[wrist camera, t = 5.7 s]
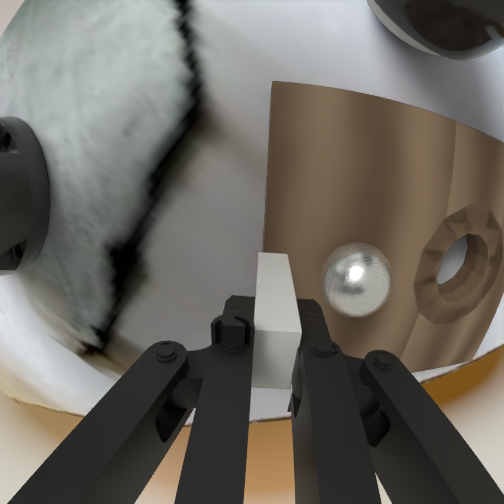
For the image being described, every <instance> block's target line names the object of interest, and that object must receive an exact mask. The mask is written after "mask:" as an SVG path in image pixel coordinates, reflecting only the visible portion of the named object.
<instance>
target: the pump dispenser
mask: <svg viewBox="0 0 504 504" xmlns="http://www.w3.org/2000/svg"><path fill="white" fill-rule="evenodd" d="M367 2H368V4H369V6H370V8H371V9H372V11H373V12H374V14H375V15H376V16H377V18H378V19H379V20H380V21H381V22H382V23H383V24H384V25H385V26H386V27H387V28H388V29H389V30H390V31H391V32H392V33H393V34H395V35H396V36H397V37H398V38H400V39H401V40H403V41H404V42H406V43H407V44H409V45H411V46H413V47H415V48H417V49H419V50H421V51H423V52H426V53H429V54H432V55H436V56H441V57H446V58H449V59H453V60H458V61H467V60H472V59H476V58H479V57H482V56H484V55H486V54H488V53H490V52H492V51H494V50H496V49H498V48H500V47H502V46H504V0H367Z"/></svg>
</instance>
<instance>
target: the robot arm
mask: <svg viewBox="0 0 504 504" xmlns="http://www.w3.org/2000/svg"><path fill="white" fill-rule="evenodd" d="M48 219H49V187H48V178H47V172H46V166H45V162H44V158H43V154H42V151H41V148H40V146H39V143H38V141H37V139H36V137H35V135H34V133H33V132H32V130H31V129H30V128H29V126H28V125H27V124H26V123H25V122H23V121H22V120H20V119H19V118H16V117H0V276H3V275H8V274H12V273H15V272H17V271H18V270H20V269H21V268H23V267H24V266H26V265H27V264H29V263H30V262H32V261H33V260H34V259H35V258H36V256H37V255H38V254H39V252H40V250H41V248H42V246H43V243H44V240H45V236H46V232H47V227H48ZM211 336H212V345H211V346H209V347H207V348H204V349H201V350H195V351H187V350H186V349H185V347H184V346H183V345H181V344H179V343H177V342H174V341H161V342H158V343H155V344H153V345H152V346H150V347H149V348H148V349H147V350H146V351H145V352H144V353H143V354H142V355H141V357H140V358H139V359H138V360H137V361H136V362H135V363H134V364H133V365H132V366H131V367H130V368H129V369H128V371H127V372H126V373H125V374H124V375H123V376H122V377H121V378H120V379H119V380H118V381H117V382H116V383H115V385H114V386H113V387H112V388H111V389H110V390H109V391H108V392H107V393H106V394H105V395H104V396H103V398H102V399H101V400H100V401H99V402H98V403H97V404H96V405H95V406H94V407H93V408H92V410H91V411H90V412H89V413H88V414H87V415H86V416H85V417H84V418H83V419H82V421H81V422H80V423H79V424H78V425H77V426H76V427H75V429H73V430H72V432H71V433H70V434H69V435H68V436H67V437H66V438H65V439H64V440H63V441H62V443H61V444H60V445H59V446H58V447H57V448H56V449H55V450H54V451H53V453H52V454H51V455H50V456H49V457H48V458H47V459H46V460H45V461H44V463H43V464H42V465H41V466H40V467H39V468H38V469H37V471H36V472H35V473H34V474H33V475H32V476H31V477H30V478H29V479H28V481H27V482H26V483H25V484H24V485H23V486H22V487H21V489H20V490H19V491H18V492H17V493H16V494H15V495H14V497H13V498H12V499H11V500H10V501H9V502H8V503H7V504H134V503H135V502H136V500H137V498H138V497H139V495H140V494H141V492H142V491H143V489H144V488H145V486H146V485H147V483H148V482H149V480H150V479H151V477H152V475H153V474H154V472H155V471H156V469H157V468H158V466H159V464H160V463H161V461H162V460H163V458H164V457H165V455H166V453H167V452H168V450H169V449H170V447H171V445H172V443H173V442H174V440H175V439H176V437H177V435H178V434H179V432H180V431H181V429H182V427H183V426H184V424H185V422H186V421H187V419H188V418H189V416H190V414H191V413H192V411H193V408H196V411H195V415H194V419H193V423H192V428H191V432H190V436H189V440H188V445H187V449H186V453H185V458H184V462H183V466H182V471H181V476H180V480H179V485H178V489H177V493H176V498H175V503H174V504H243V501H244V487H245V473H246V459H247V444H248V428H249V414H250V398H251V387H257V388H280V389H290V386H291V382H292V389H293V390H292V395H291V399H290V403H289V406H288V411H287V412H290V411H291V417H292V434H293V453H294V473H295V474H294V476H295V502H296V503H295V504H381V498H380V494H379V489H378V484H377V479H376V475H375V473H376V474H377V476H378V478H379V480H380V482H381V484H382V485H383V487H384V489H385V491H386V493H387V495H388V497H389V498H390V500H391V502H392V504H504V495H503V493H502V492H501V490H500V489H499V487H498V486H497V484H496V483H495V481H494V480H493V479H492V477H491V476H490V474H489V473H488V472H487V470H486V469H485V468H484V466H483V465H482V463H481V462H480V460H479V459H478V458H477V456H476V455H475V454H474V452H473V451H472V449H471V448H470V447H469V445H468V444H467V443H466V441H465V440H464V439H463V437H462V436H461V435H460V433H459V432H458V431H457V430H456V429H455V427H454V426H453V424H452V423H451V422H450V421H449V419H448V418H447V417H446V415H445V414H444V413H443V412H442V411H441V409H440V408H439V407H438V405H437V404H436V403H435V402H434V400H433V399H432V398H431V397H430V396H429V394H428V393H427V392H426V391H425V389H424V388H423V387H422V386H421V385H420V383H419V382H418V381H417V380H416V379H415V377H414V376H413V375H412V374H411V373H410V371H409V370H408V369H407V368H406V367H405V365H404V364H403V363H402V362H401V361H400V360H399V358H398V357H396V356H395V355H394V354H393V353H390V352H388V351H385V350H373V351H370V352H368V353H367V355H366V356H365V358H364V359H362V358H357V357H352V356H348V355H345V354H343V353H342V350H341V349H340V347H339V345H337V344H336V343H335V342H333V341H331V337H330V334H329V331H328V327H327V324H326V321H325V318H324V315H323V311H322V308H321V306H320V305H319V304H318V303H317V302H316V301H315V300H314V299H296V296H295V291H294V285H293V280H292V275H291V270H290V265H289V259H288V254H278V253H263V252H259V253H258V268H257V283H256V297H248V296H235V295H232V296H231V297H230V298H229V299H228V300H227V301H226V303H225V307H224V311H223V315H221V316H218V317H217V318H215V319H214V320H213V322H212V323H211Z"/></svg>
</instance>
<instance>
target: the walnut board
mask: <svg viewBox="0 0 504 504" xmlns="http://www.w3.org/2000/svg"><path fill="white" fill-rule="evenodd" d="M464 235H466V236H467V244H468V250H467V253H466V257H465V261H464V264H463V265H462V267H461V268H460V270H459V271H458V272H457V274H456V275H455V276H454V277H453V278H451V279H450V280H448V281H447V282H445V283H443V284H437V275H438V272H439V268H440V265H441V261H442V258H443V257H444V255H445V254H446V253H447V251H448V250H449V248H450V247H451V245H452V244H453V242H454V241H456V240H458V239H459V238H461V237H463V236H464ZM353 242H361V243H366V244H369V245H371V246H374V247H375V248H377V249H378V250H380V251H381V252H382V253H383V254H384V256H385V257H386V258H387V260H388V262H389V264H390V266H391V270H392V275H393V283H392V289H391V292H390V295H389V297H388V299H387V300H386V302H385V303H384V304H383V306H382V307H381V308H379V309H378V310H377V311H375V312H374V313H372V314H370V315H368V316H364V317H357V318H356V317H347V316H344V315H341V314H339V313H338V312H336V311H335V310H333V309H332V308H331V307H330V306H329V305H328V303H327V302H326V300H325V299H324V297H323V294H322V291H321V287H320V274H321V270H322V267H323V264H324V262H325V261H326V259H327V258H328V256H329V255H330V254H331V253H332V252H333V251H334V250H336V249H337V248H339V247H340V246H342V245H345V244H348V243H353ZM262 252H263V253H278V254H288V259H289V265H290V270H291V275H292V280H293V285H294V291H295V296H296V299H314V300H315V301H316V302H317V303H318V304H319V305H320V306H321V308H322V311H323V315H324V318H325V321H326V324H327V327H328V331H329V334H330V337H331V341H333V342H335V343H336V344H337V345H339V347H340V349H341V350H342V353H343V354H345V355H348V356H352V357H357V358H362V359H364V358H365V356H366V355H367V353H368V352H370V351H373V350H385V351H388V352H390V353H393V354H394V355H395V356H396V357H398V358H399V360H400V361H401V362H402V363H403V364H404V365H405V367H406V368H407V369H408V370H409V371H410V373H411V372H418V371H424V370H429V369H435V368H440V367H445V366H450V365H454V364H459V363H463V362H468V361H472V359H473V357H474V356H475V354H476V352H477V350H478V348H479V346H480V344H481V342H482V340H483V339H484V337H485V334H486V332H487V330H488V328H489V326H490V324H491V322H492V320H493V317H494V315H495V313H496V310H497V308H498V306H499V303H500V301H501V298H502V296H503V293H504V143H503V142H501V141H499V140H497V139H495V138H493V137H491V136H489V135H487V134H485V133H483V132H481V131H479V130H476V129H474V128H472V127H469V126H467V125H465V124H462V123H460V122H457V121H455V120H452V119H450V118H447V117H444V116H442V115H439V114H436V113H433V112H430V111H427V110H424V109H421V108H418V107H415V106H411V105H408V104H405V103H401V102H397V101H394V100H390V99H386V98H382V97H378V96H373V95H369V94H364V93H359V92H354V91H349V90H344V89H338V88H332V87H325V86H318V85H310V84H301V83H291V82H279V81H273V82H272V88H271V100H270V122H269V143H268V162H267V181H266V200H265V218H264V235H263V251H262Z"/></svg>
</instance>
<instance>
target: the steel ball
mask: <svg viewBox="0 0 504 504" xmlns="http://www.w3.org/2000/svg"><path fill="white" fill-rule="evenodd" d="M392 283H393V275H392V270H391V266H390V264H389V262H388V260H387V258H386V257H385V256H384V254H383V253H382V252H381V251H380V250H378V249H377V248H375V247H374V246H371V245H369V244H366V243H361V242H353V243H348V244H345V245H342V246H340V247H339V248H337V249H336V250H334V251H333V252H332V253H331V254H330V255H329V256H328V258H327V259H326V261H325V262H324V264H323V267H322V270H321V274H320V287H321V291H322V294H323V297H324V299H325V300H326V302H327V303H328V305H329V306H330V307H331V308H332V309H333V310H335V311H336V312H338V313H339V314H341V315H344V316H347V317H356V318H357V317H364V316H368V315H370V314H372V313H374V312H375V311H377V310H378V309H379V308H381V307H382V306H383V304H384V303H385V302H386V300H387V299H388V297H389V295H390V292H391V289H392Z"/></svg>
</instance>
